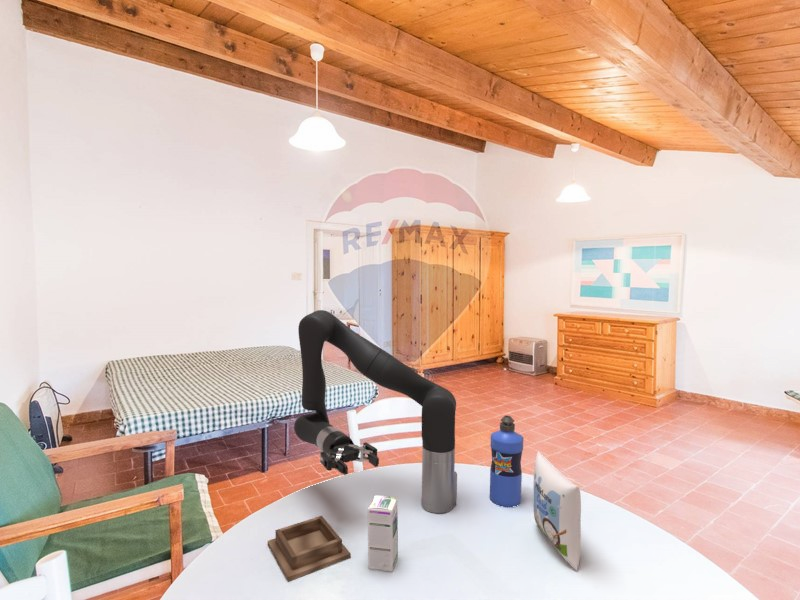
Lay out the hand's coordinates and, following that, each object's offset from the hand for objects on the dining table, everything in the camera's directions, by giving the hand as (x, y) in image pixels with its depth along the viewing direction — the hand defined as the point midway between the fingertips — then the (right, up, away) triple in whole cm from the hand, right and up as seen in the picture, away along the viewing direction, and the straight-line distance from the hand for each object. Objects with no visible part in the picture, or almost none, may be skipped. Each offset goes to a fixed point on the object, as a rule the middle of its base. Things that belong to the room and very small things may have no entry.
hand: (362, 466), depth 108 cm
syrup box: (+5, -20, -7) cm, 22 cm away
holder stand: (-13, -19, -3) cm, 23 cm away
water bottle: (+40, -18, +22) cm, 49 cm away
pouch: (+47, -20, 0) cm, 51 cm away
